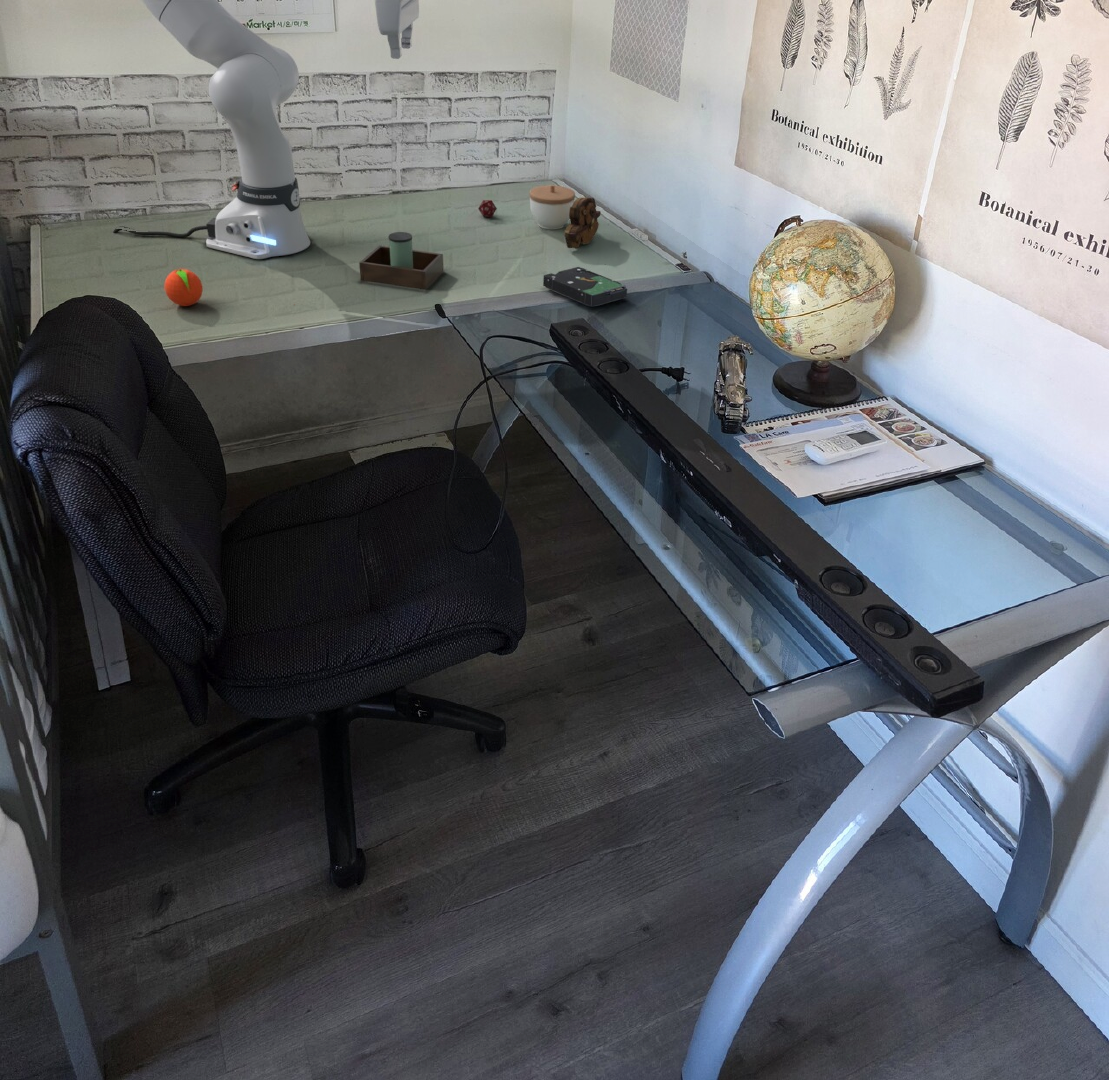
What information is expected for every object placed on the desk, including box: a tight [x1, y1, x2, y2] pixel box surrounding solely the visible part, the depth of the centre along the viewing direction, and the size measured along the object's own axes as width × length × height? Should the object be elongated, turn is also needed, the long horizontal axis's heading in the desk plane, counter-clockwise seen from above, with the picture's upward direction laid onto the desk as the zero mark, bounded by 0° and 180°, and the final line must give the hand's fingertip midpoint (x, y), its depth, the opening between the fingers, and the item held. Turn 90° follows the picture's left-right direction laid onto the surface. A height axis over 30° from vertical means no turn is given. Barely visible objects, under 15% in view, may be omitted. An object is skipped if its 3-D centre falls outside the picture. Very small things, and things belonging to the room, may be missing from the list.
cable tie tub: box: [388, 231, 413, 269], centre depth 206 cm, size 5×5×8 cm
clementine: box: [164, 268, 203, 307], centre depth 192 cm, size 8×7×7 cm
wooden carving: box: [563, 196, 602, 249], centre depth 225 cm, size 16×5×10 cm, turn 161°
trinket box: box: [529, 184, 576, 230], centre depth 234 cm, size 11×11×9 cm
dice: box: [477, 199, 498, 218], centre depth 239 cm, size 4×4×4 cm
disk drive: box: [542, 266, 628, 308], centre depth 204 cm, size 10×3×15 cm
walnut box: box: [358, 244, 444, 291], centre depth 207 cm, size 14×10×4 cm
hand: (401, 53), depth 191 cm, fingers open, 8 cm apart
